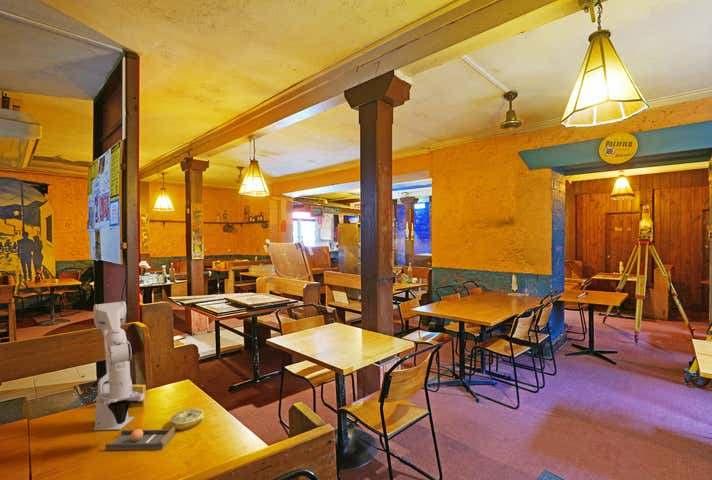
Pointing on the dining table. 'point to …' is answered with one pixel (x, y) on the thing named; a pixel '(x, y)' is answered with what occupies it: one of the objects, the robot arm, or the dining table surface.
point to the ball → (136, 435)
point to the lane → (142, 440)
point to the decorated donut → (186, 419)
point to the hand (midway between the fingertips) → (121, 422)
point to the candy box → (141, 390)
